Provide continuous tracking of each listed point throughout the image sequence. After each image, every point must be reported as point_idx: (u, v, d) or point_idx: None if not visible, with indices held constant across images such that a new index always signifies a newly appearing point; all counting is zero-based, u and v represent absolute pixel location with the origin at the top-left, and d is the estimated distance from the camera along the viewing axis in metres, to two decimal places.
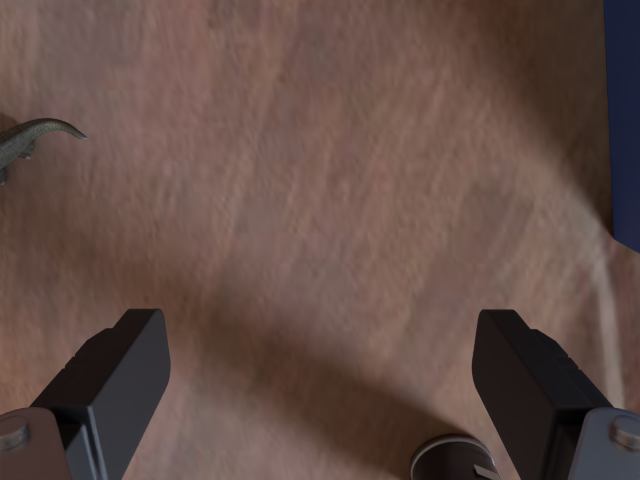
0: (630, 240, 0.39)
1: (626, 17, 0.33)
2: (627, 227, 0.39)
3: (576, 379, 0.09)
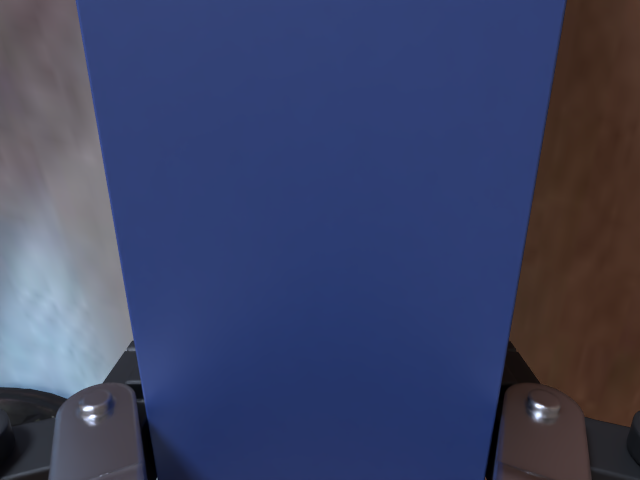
0: None
1: None
2: None
3: (511, 360, 0.09)
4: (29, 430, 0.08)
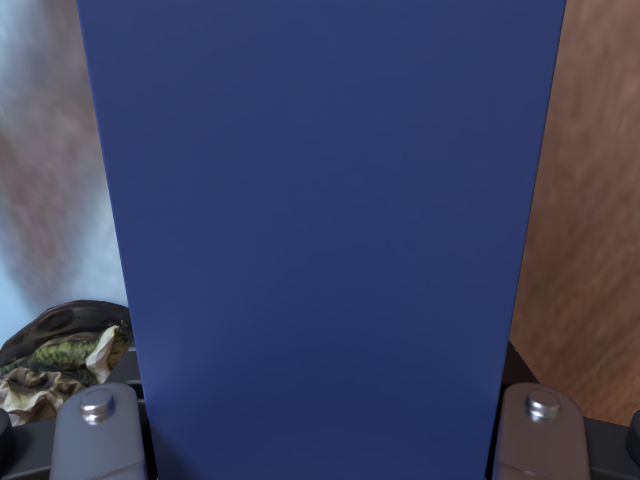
0: None
1: None
2: None
3: (511, 360, 0.09)
4: (30, 430, 0.08)
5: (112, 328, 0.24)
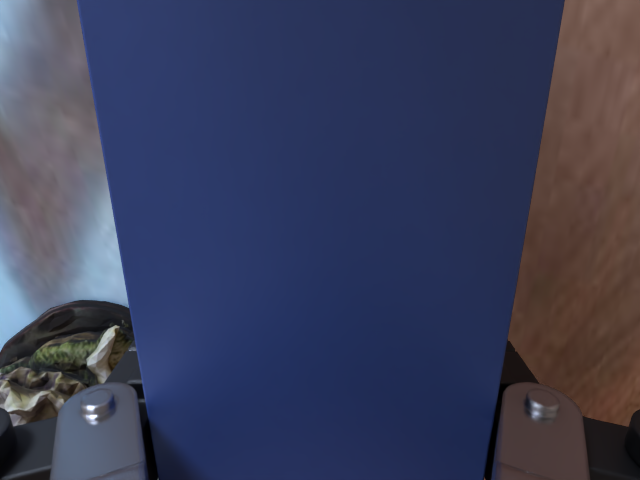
0: None
1: None
2: None
3: (510, 360, 0.09)
4: (31, 430, 0.08)
5: (113, 328, 0.24)
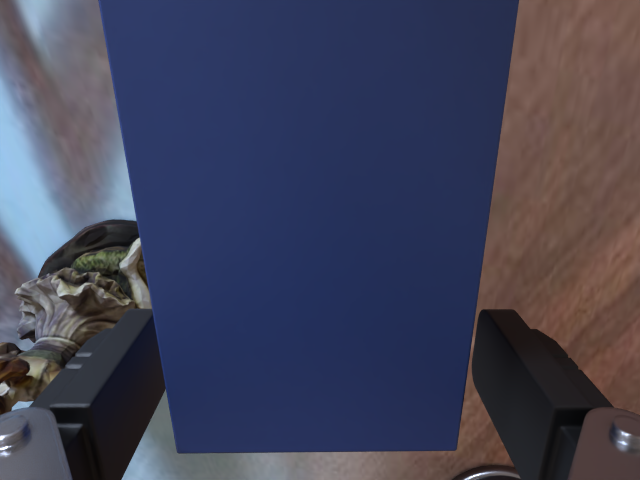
0: None
1: None
2: None
3: (576, 379, 0.09)
4: None
5: None
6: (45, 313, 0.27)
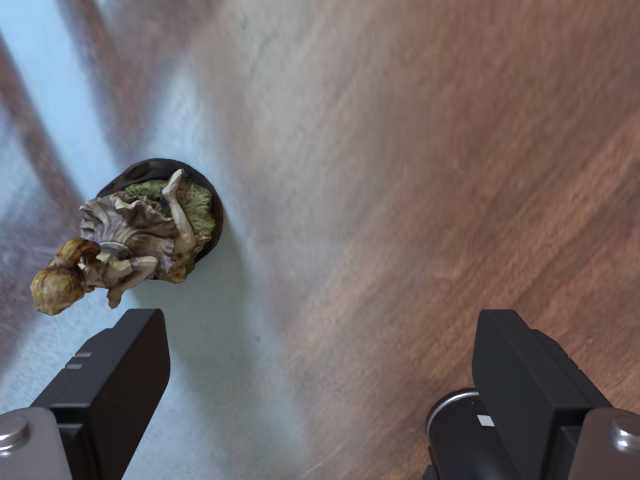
0: None
1: None
2: None
3: (576, 379, 0.09)
4: None
5: (180, 169, 0.35)
6: (103, 225, 0.34)
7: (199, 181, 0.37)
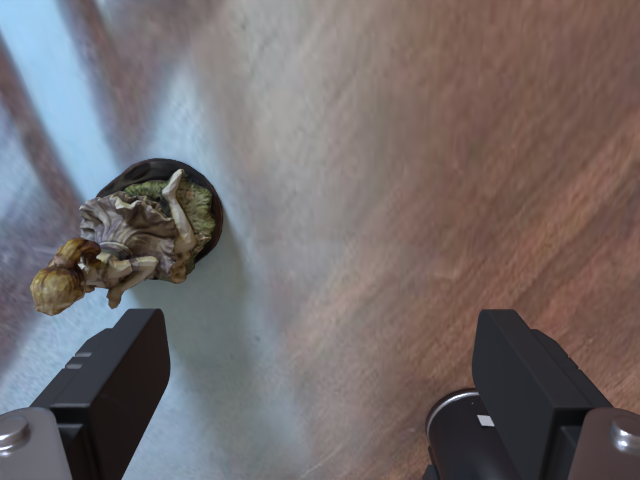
0: None
1: None
2: None
3: (576, 379, 0.09)
4: None
5: (180, 169, 0.35)
6: (103, 225, 0.34)
7: (199, 181, 0.37)
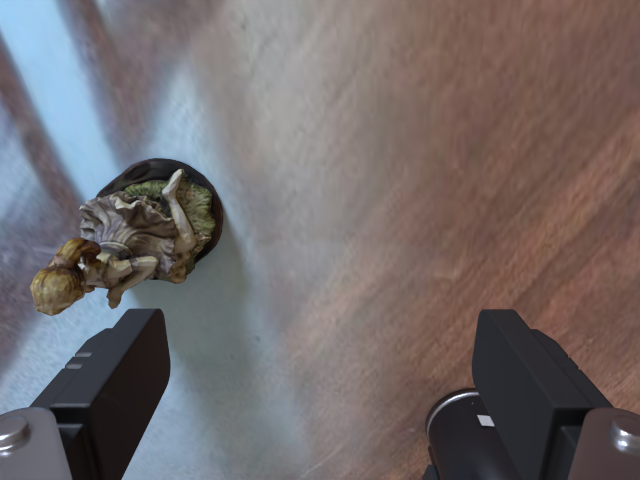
0: None
1: None
2: None
3: (576, 379, 0.09)
4: None
5: (180, 169, 0.35)
6: (103, 225, 0.34)
7: (199, 181, 0.37)
